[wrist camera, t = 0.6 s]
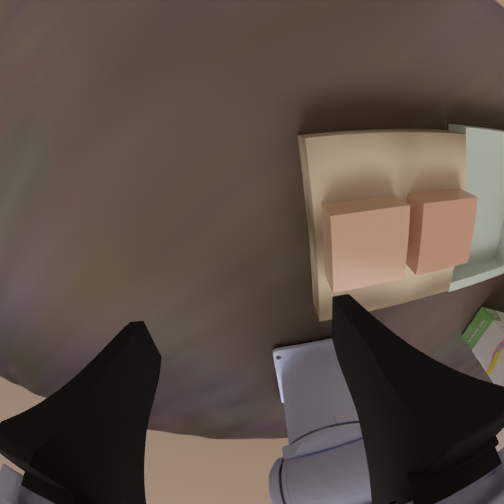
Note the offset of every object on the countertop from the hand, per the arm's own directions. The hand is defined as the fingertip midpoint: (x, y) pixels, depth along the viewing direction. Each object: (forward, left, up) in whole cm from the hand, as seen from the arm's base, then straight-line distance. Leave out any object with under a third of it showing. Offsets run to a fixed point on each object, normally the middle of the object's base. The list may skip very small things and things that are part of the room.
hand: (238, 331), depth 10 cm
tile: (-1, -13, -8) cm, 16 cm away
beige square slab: (-1, -11, -10) cm, 15 cm away
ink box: (-18, -28, -11) cm, 35 cm away
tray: (-1, -21, -10) cm, 24 cm away
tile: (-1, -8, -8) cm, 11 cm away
